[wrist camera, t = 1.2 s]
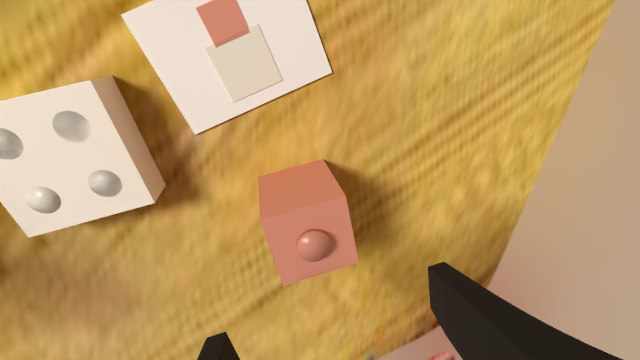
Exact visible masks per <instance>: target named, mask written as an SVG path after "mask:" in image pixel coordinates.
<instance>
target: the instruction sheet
mask: <svg viewBox="0 0 640 360" xmlns="http://www.w3.org/2000/svg"><path fill="white" fill-rule="evenodd" d="M121 17H122V18H123V20H124V21H125V23H126V25H127V26H128V28H129V29H130V31H131V33H132V34H133V36H134V37H135V39H136V41H137V42H138V44H139V45H140V47H141V49H142V50H143V52H144V53H145V55H146V57H147V58H148V60H149V61H150V63H151V65H152V66H153V68H154V69H155V71H156V73H157V74H158V76H159V77H160V79H161V81H162V82H163V84H164V85H165V87H166V89H167V90H168V92H169V93H170V95H171V97H172V98H173V100H174V102H175V103H176V105H177V106H178V108H179V110H180V111H181V113H182V114H183V116H184V118H185V119H186V121H187V122H188V124H189V126H190V127H191V129H192V130H193V132H194V134H195V135H196V134H198V133H200V132H202V131H205V130H207V129H209V128H211V127H213V126H216V125H218V124H220V123H222V122H224V121H227V120H229V119H231V118H233V117H235V116H238V115H240V114H242V113H244V112H246V111H249V110H251V109H253V108H255V107H257V106H260V105H262V104H264V103H266V102H268V101H271V100H273V99H275V98H277V97H279V96H282V95H284V94H286V93H288V92H290V91H293V90H295V89H297V88H299V87H301V86H304V85H306V84H308V83H310V82H312V81H315V80H317V79H319V78H321V77H323V76H326V75H328V74H330V73H332V71H331V68H330V65H329V62H328V60H327V57H326V54H325V51H324V49H323V46H322V43H321V40H320V37H319V35H318V32H317V29H316V26H315V23H314V21H313V18H312V15H311V12H310V10H309V7H308V4H307V1H306V0H153V1H151V2H149V3H146V4H144V5H142V6H140V7H137V8H135V9H133V10H131V11H128V12H126V13H124V14H122V15H121Z"/></svg>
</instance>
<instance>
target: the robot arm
mask: <svg viewBox="0 0 640 360" xmlns="http://www.w3.org/2000/svg"><path fill="white" fill-rule="evenodd" d="M428 276H429V291H430V306H431V309H432V311H433V313H434V315H435V317H436V318H437V320H438V322H439V324H440V326H441V327H442V329H443V331H444V333H445V334H446V336H447V337H448V339H449V340H450V342H451V343H452V344H453V346H454V347H455V349H456V350H457V352H458V353H459V354H460V356H461V357H462V359H463V360H623V359H620V358H618V357H615V356H613V355H611V354H608V353H606V352H604V351H601V350H599V349H597V348H595V347H592V346H590V345H588V344H586V343H584V342H582V341H580V340H578V339H576V338H574V337H572V336H569V335H567V334H565V333H563V332H561V331H559V330H557V329H555V328H553V327H551V326H550V325H547V324H546V323H544V322H542V321H540V320H538V319H537V318H535V317H533V316H531V315H529V314H527V313H526V312H524V311H522V310H520V309H519V308H517V307H515V306H513V305H512V304H510V303H508V302H507V301H505V300H503V299H502V298H500V297H498V296H496V295H495V294H493V293H492V292H490V291H489V290H487V289H485V288H484V287H482V286H481V285H479V284H478V283H476V282H474V281H473V280H471V279H470V278H468V277H467V276H465V275H464V274H462V273H461V272H459V271H457V270H456V269H454V268H453V267H451V266H450V265H448V264H447V263H445V262H442V263H439V264H436V265H433V266H429V267H428ZM197 360H240V359H239V357H238V355H237V353H236V351H235V349H234V347H233V345H232V343H231V341H230V339H229V337H228V335H227V333H226V332H224V333H220V334H217V335H214V336H211V337H208V338H207V339H206V341H205V343H204V345H203V347H202V350H201V352H200V354H199V356H198V359H197Z"/></svg>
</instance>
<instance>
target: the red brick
mask: <svg viewBox="0 0 640 360" xmlns="http://www.w3.org/2000/svg"><path fill="white" fill-rule="evenodd" d="M258 183H259V205H260V221H261V224H262V227H263V230H264V233H265V236H266V238H267V241H268V244H269V247H270V250H271V252H272V255H273V258H274V261H275V264H276V267H277V269H278V272H279V275H280V278H281V281H282V283H283V286H285V285H288V284H291V283H294V282H298V281H301V280H304V279H307V278H310V277H314V276H317V275H320V274H323V273H326V272H330V271H333V270H336V269H339V268H342V267H346V266H349V265H352V264H355V263H358V262H359V260H358V255H357V250H356V245H355V240H354V235H353V230H352V225H351V220H350V214H349V209H348V204H347V199H346V195H345V194H344V192H343V190H342V189H341V187H340V186H339V184H338V182H337V181H336V179H335V178H334V176H333V174H332V173H331V171H330V169H329V168H328V166H327V165H326V163H325V161H324V160H323V159H322V160H318V161H315V162H311V163H307V164H304V165H300V166H297V167H293V168H289V169H286V170H282V171H278V172H275V173H271V174H267V175H264V176H260V177H258Z"/></svg>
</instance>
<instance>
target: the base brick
mask: <svg viewBox="0 0 640 360" xmlns="http://www.w3.org/2000/svg"><path fill="white" fill-rule="evenodd" d="M165 186H166V184H165V182H164V180H163V178H162V176H161V174H160V172H159V170H158V168H157V166H156V164H155V162H154V160H153V158H152V156H151V154H150V152H149V150H148V148H147V146H146V144H145V142H144V139H143V137H142V135H141V133H140V131H139V129H138V127H137V125H136V123H135V121H134V119H133V117H132V115H131V113H130V111H129V109H128V107H127V105H126V103H125V101H124V99H123V97H122V95H121V93H120V91H119V89H118V87H117V84H116V82H115V80H114V78H113V76H112V75H111V76H106V77H102V78H97V79H93V80H88V81H84V82H80V83H75V84H71V85H67V86H63V87H58V88H54V89H50V90H45V91H41V92H37V93H33V94H28V95H24V96H20V97H16V98H11V99H7V100H3V101H0V202H1V203H2V204H3V206H4V207H5V208H6V210H7V211H8V212H9V213H10V215H11V216H12V217H13V218H14V220H15V221H16V222H17V224H18V225H19V226H20V227H21V229H22V230H23V231H24V232H25V234H26V235H27V236H28V237H33V236H37V235H40V234H44V233H48V232H51V231H55V230H59V229H62V228H66V227H69V226H73V225H77V224H80V223H84V222H88V221H91V220H95V219H99V218H102V217H106V216H110V215H113V214H117V213H121V212H124V211H128V210H131V209H135V208H139V207H142V206H146V205H150V204H153V203H155V202H156V200H157V199H158V197H159V195H160V194H161V192H162V191H163V189H164V187H165Z"/></svg>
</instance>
